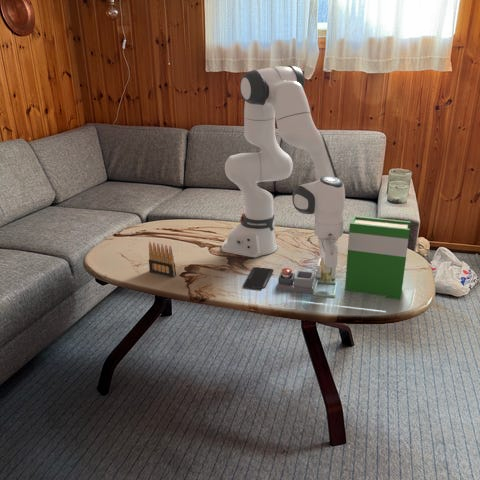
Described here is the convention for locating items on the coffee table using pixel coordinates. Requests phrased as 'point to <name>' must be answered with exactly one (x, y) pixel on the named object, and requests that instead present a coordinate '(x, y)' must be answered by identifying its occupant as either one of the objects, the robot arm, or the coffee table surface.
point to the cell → (325, 274)
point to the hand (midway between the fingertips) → (326, 268)
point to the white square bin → (334, 271)
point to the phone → (258, 278)
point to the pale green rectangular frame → (324, 293)
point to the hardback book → (377, 256)
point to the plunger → (286, 273)
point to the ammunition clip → (161, 260)
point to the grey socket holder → (298, 282)
